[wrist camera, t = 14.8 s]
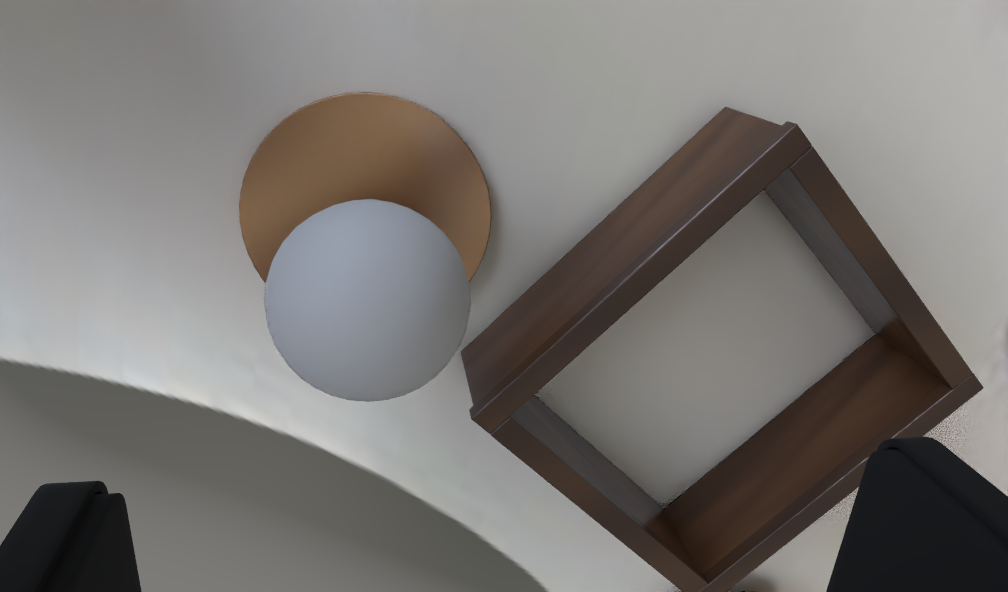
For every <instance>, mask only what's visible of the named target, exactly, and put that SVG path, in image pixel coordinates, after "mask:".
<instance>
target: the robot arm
mask: <svg viewBox="0 0 1008 592" xmlns="http://www.w3.org/2000/svg"><path fill="white" fill-rule="evenodd" d="M0 592H141V587H140V581H139V575H138V570H137V564H136V559H135V554H134V547H133V542H132V536H131V530H130V525H129V520H128V513H127V508H126V503H125V499H124V497H123V495H122V494H120V493H114V494H108V491H107V488H106V486H105V484H104V483H103V482H101V481H88V482H69V483H50V484H44V485H42V486H40V487H39V488H38V490H37V491H36V492H35V493H34V495H33V496H32V498H31V499H30V501H29V503H28V504H27V506H26V507H25V509H24V510H23V512H22V513H21V515H20V516H19V518H18V519H17V521H16V522H15V524H14V525H13V527H12V529H11V530H10V532H9V533H8V535H7V536H6V538H5V540H4V541H3V542H2V544H1V546H0ZM826 592H1008V497H1007V496H1006V495H1005V494H1004V493H1002V492H1001V491H1000V490H999V489H997V488H996V487H995V486H994V485H992V484H991V483H990V482H989V481H987V480H986V479H985V478H984V477H982V476H981V475H980V474H979V473H977V472H976V471H975V470H974V469H973V468H971V467H970V466H969V465H968V464H966V463H965V462H964V461H963V460H961V459H960V458H959V457H958V456H956V455H955V454H954V453H953V452H951V451H950V450H949V449H948V448H946V447H945V446H944V445H943V444H941V443H940V442H938V441H937V440H935V439H933V438H929V437H911V438H892V439H887V440H884V441H883V442H882V443H881V444H880V445H879V446H878V448H877V450H876V451H874V452H873V453H872V454H871V455H870V456H869V458H868V460H867V464H866V467H865V470H864V473H863V476H862V480H861V483H860V486H859V489H858V492H857V495H856V499H855V502H854V505H853V508H852V511H851V515H850V518H849V521H848V524H847V527H846V531H845V534H844V537H843V540H842V543H841V547H840V550H839V553H838V556H837V559H836V562H835V566H834V569H833V572H832V575H831V578H830V582H829V585H828V588H827V591H826Z"/></svg>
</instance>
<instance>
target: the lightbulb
mask: <svg viewBox="0 0 1008 592" xmlns="http://www.w3.org/2000/svg"><path fill="white" fill-rule="evenodd" d="M264 304H265V311H266V318H267V324H268V329H269V331H270V334H271V336H272V339H273V342H274V344H275V346H276V348H277V349H278V351H279V352H280V354H281V355H282V357H283V358H284V360H285V361H286V363H287V364H288V366H289V367H290V368H291V369H292V370H293V371H294V372H295V373H296V374H297V375H298V376H299V377H300V378H301V379H303V380H304V381H306V382H307V383H309V384H310V385H311V386H313V387H314V388H316V389H318V390H320V391H323V392H325V393H327V394H329V395H332V396H335V397H339V398H343V399H347V400H354V401H367V402H369V401H380V400H388V399H391V398H395V397H399V396H403V395H405V394H407V393H410V392H412V391H414V390H416V389H418V388H420V387H422V386H423V385H425V384H426V383H428V382H429V381H430V380H432V379H433V378H435V377H436V375H437V374H438V373H439V372H440V371H441V370H442V369H443V368H444V367H445V366H446V365H447V364H448V362H449V361H450V359H451V358H452V356H453V355H454V353H455V352H456V350H457V349H458V347H459V346H460V343H461V341H462V338H463V336H464V334H465V331H466V327H467V322H468V316H469V311H470V286H469V282H468V278H467V273H466V270H465V267H464V264H463V262H462V260H461V257H460V255H459V253H458V251H457V249H456V247H455V246H454V245H453V243H452V242H451V241H450V239H449V238H448V237H447V236H446V234H445V233H444V232H443V231H442V230H441V229H440V228H438V227H437V226H436V225H435V224H434V223H433V222H431V221H430V220H429V219H427V218H426V217H424V216H422V215H420V214H419V213H417V212H415V211H413V210H412V209H410V208H407V207H404V206H401V205H399V204H396V203H393V202H388V201H380V200H377V199H363V200H352V201H348V202H344V203H340V204H336V205H333V206H331V207H329V208H326V209H324V210H322V211H320V212H318V213H316V214H314V215H312V216H311V217H309V218H308V219H307V220H305V221H304V222H302V223H301V224H300V225H298V226H297V227H296V228H295V229H294V230H293V231H292V232H291V233H290V235H289V236H288V237H287V238H286V239H285V240H284V241H283V243H282V244H281V246H280V248H279V250H278V252H277V253H276V255H275V257H274V259H273V261H272V264H271V267H270V270H269V273H268V277H267V280H266V284H265V297H264Z"/></svg>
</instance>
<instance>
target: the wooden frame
mask: <svg viewBox="0 0 1008 592" xmlns="http://www.w3.org/2000/svg"><path fill="white" fill-rule="evenodd" d="M763 189H765V190H766V192H767V193H768V194H769V196H770V197H771V198H772V200H773V201H774V202H775V203H776V205H777V206H778V207H779V209H780V210H781V211H782V213H783V214H784V215H785V217H786V218H787V219H788V220H789V222H790V223H791V224H792V226H793V227H794V228H795V230H796V231H797V232H798V233H799V235H800V236H801V237H802V239H803V240H804V241H805V243H806V244H807V245H808V246H809V248H810V249H811V250H812V252H813V253H814V254H815V256H816V257H817V258H818V259H819V261H820V262H821V263H822V265H823V266H824V267H825V269H826V270H827V271H828V272H829V274H830V275H831V276H832V278H833V279H834V280H835V282H836V283H837V284H838V285H839V287H840V288H841V289H842V291H843V292H844V293H845V295H846V296H847V297H848V298H849V300H850V301H851V302H852V304H853V305H854V306H855V308H856V309H857V310H858V311H859V313H860V314H861V315H862V317H863V318H864V319H865V321H866V322H867V323H868V324H869V326H870V327H871V328H872V330H873V331H874V332H875V334H876V335H875V336H873V337H872V338H871V339H870V340H868V341H867V342H866V343H865V344H864V345H862V346H861V347H860V348H859V349H858V350H856V351H855V352H854V353H853V354H852V355H850V356H849V357H848V358H847V359H846V360H844V361H843V362H842V363H841V364H839V365H838V366H837V367H836V368H835V369H833V370H832V371H831V372H830V373H829V374H827V375H826V376H825V377H824V378H823V379H821V380H820V381H819V382H818V383H817V384H815V385H814V386H813V387H812V388H811V389H809V390H808V391H807V392H806V393H804V394H803V395H802V396H801V397H800V398H798V399H797V400H796V401H795V402H794V403H792V404H791V405H790V406H789V407H788V408H786V409H785V410H784V411H783V412H782V413H780V414H779V415H778V416H777V417H775V418H774V419H773V420H772V421H771V422H769V423H768V424H767V425H766V426H765V427H763V428H762V429H761V430H760V431H759V432H757V433H756V434H755V435H754V436H753V437H751V438H750V439H749V440H748V441H746V442H745V443H744V444H743V445H742V446H740V447H739V448H738V449H737V450H736V451H734V452H733V453H732V454H731V455H730V456H728V457H727V458H726V459H725V460H724V461H722V462H721V463H720V464H719V465H717V466H716V467H715V468H714V469H713V470H711V471H710V472H709V473H708V474H707V475H705V476H704V477H703V478H702V479H701V480H699V481H698V482H697V483H696V484H695V485H693V486H692V487H691V488H690V489H688V490H687V491H686V492H685V493H684V494H682V495H681V496H680V497H679V498H678V499H676V500H675V501H674V502H673V503H672V504H670V505H669V506H668V507H667V508H666V509H663V508H662V507H661V506H660V505H659V504H658V503H656V502H655V501H654V500H653V499H652V498H651V497H650V496H648V495H647V494H646V493H645V492H644V491H643V490H642V489H640V488H639V487H638V486H637V485H636V484H635V483H634V482H632V481H631V480H630V479H629V478H628V477H627V476H626V475H625V474H623V473H622V472H621V471H620V470H619V469H618V468H617V467H615V466H614V465H613V464H612V463H611V462H610V461H609V460H607V459H606V458H605V457H604V456H603V455H602V454H601V453H599V452H598V451H597V450H596V449H595V448H594V447H593V446H592V445H590V444H589V443H588V442H587V441H586V440H585V439H584V438H582V437H581V436H580V435H579V434H578V433H577V432H576V431H574V430H573V429H572V428H571V427H570V426H569V425H568V424H566V423H565V422H564V421H563V420H562V419H561V418H560V417H559V416H557V415H556V414H555V413H554V412H553V411H552V410H551V409H549V408H548V407H547V406H546V405H545V404H544V403H543V402H541V401H540V400H539V399H538V398H537V397H536V396H535V395H534V394H535V393H536V392H537V391H539V390H540V389H541V388H542V387H543V386H544V385H545V384H546V383H547V382H549V381H550V380H551V379H552V378H553V377H554V376H555V375H556V374H558V373H559V372H560V371H561V370H562V369H563V368H564V367H565V366H566V365H568V364H569V363H570V362H571V361H572V360H573V359H574V358H575V357H577V356H578V355H579V354H580V353H581V352H582V351H583V350H584V349H585V348H587V347H588V346H589V345H590V344H591V343H592V342H593V341H594V340H596V339H597V338H598V337H599V336H600V335H601V334H602V333H603V332H604V331H606V330H607V329H608V328H609V327H610V326H611V325H612V324H613V323H615V322H616V321H617V320H618V319H619V318H620V317H621V316H622V315H623V314H625V313H626V312H627V311H628V310H629V309H630V308H631V307H632V306H634V305H635V304H636V303H637V302H638V301H639V300H640V299H641V298H642V297H644V296H645V295H646V294H647V293H648V292H649V291H650V290H651V289H653V288H654V287H655V286H656V285H657V284H658V283H659V282H660V281H662V280H663V279H664V278H665V277H666V276H667V275H668V274H669V273H670V272H672V271H673V270H674V269H675V268H676V267H677V266H678V265H679V264H681V263H682V262H683V261H684V260H685V259H686V258H687V257H688V256H689V255H691V254H692V253H693V252H694V251H695V250H696V249H697V248H698V247H700V246H701V245H702V244H703V243H704V242H705V241H706V240H707V239H708V238H710V237H711V236H712V235H713V234H714V233H715V232H716V231H717V230H719V229H720V228H721V227H722V226H723V225H724V224H725V223H726V222H727V221H729V220H730V219H731V218H732V217H733V216H734V215H735V214H736V213H738V212H739V211H740V210H741V209H742V208H743V207H744V206H745V205H746V204H748V203H749V202H750V201H751V200H752V199H753V198H754V197H755V196H757V195H758V194H759V193H760V192H761V191H762V190H763ZM461 356H462V360H463V364H464V368H465V372H466V377H467V381H468V385H469V389H470V393H471V397H472V401H473V407H472V408H470V410H469V411H470V416H471V419H472V420H473V421H474V422H476V423H477V424H478V425H479V426H481V427H482V428H483V429H484V430H485V431H487V432H488V433H490V435H491V436H492V437H494V438H495V439H496V440H497V441H499V442H500V443H501V444H502V445H503V446H505V447H506V448H507V449H508V450H510V451H511V452H512V453H513V454H515V455H516V456H517V457H518V458H519V459H521V460H522V461H523V462H524V463H526V464H527V465H528V466H529V467H530V468H532V469H533V470H534V471H535V472H537V473H538V474H539V475H540V476H541V477H543V478H544V479H545V480H546V481H548V482H549V483H550V484H551V485H553V486H554V487H555V488H556V489H557V490H559V491H560V492H561V493H562V494H564V495H565V496H566V497H567V498H568V499H570V500H571V501H572V502H573V503H575V504H576V505H577V506H578V507H579V508H581V509H582V510H583V511H584V512H586V513H587V514H588V515H589V516H591V517H592V518H593V519H594V520H595V521H597V522H598V523H599V524H600V525H602V526H603V527H604V528H605V529H606V530H608V531H609V532H610V533H611V534H613V535H614V536H615V537H616V538H617V539H619V540H620V541H621V542H622V543H624V544H625V545H626V546H627V547H629V548H630V549H631V550H632V551H633V552H635V553H636V554H637V555H638V556H640V557H641V558H642V559H643V560H644V561H646V562H647V563H648V564H649V565H651V566H652V567H653V568H654V569H656V570H657V571H658V572H659V573H660V574H662V575H663V576H664V577H665V578H667V579H668V580H669V581H670V582H671V583H673V584H674V585H675V586H676V587H678V588H679V589H680V590H681V591H682V592H726V591H728V590H729V589H730V588H731V587H733V586H734V585H735V584H736V583H738V582H739V581H740V580H741V579H743V578H744V577H745V576H747V575H748V574H749V573H750V572H752V571H753V570H754V569H755V568H757V567H758V566H759V565H760V564H762V563H763V562H764V561H765V560H767V559H768V558H769V557H771V556H772V555H773V554H774V553H776V552H777V551H778V550H779V549H781V548H782V547H783V546H784V545H786V544H787V543H788V542H790V541H791V540H792V539H793V538H795V537H796V536H797V535H798V534H800V533H801V532H802V531H803V530H805V529H806V528H807V527H809V526H810V525H811V524H812V523H814V522H815V521H816V520H817V519H819V518H820V517H821V516H822V515H824V514H825V513H826V512H828V511H829V510H830V509H831V508H833V507H834V506H835V505H836V504H838V503H839V502H840V501H841V500H843V499H844V498H845V497H846V496H848V495H849V494H850V493H852V492H853V491H854V490H855V489H857V488H858V487H859V486H860V483H861V480H862V476H863V473H864V470H865V467H866V464H867V460H868V458H869V456H870V455H871V454H872V453H873V452H874V451H876V450H877V448H878V446H879V445H880V444H881V443H882V442H883V441H884V440H887V439H892V438H911V437H922V436H924V435H925V434H926V433H927V432H929V431H930V430H931V429H933V428H934V427H935V426H936V425H938V424H939V423H940V422H941V421H943V420H944V419H945V418H946V417H948V416H949V415H950V414H952V413H953V412H954V411H955V410H957V409H958V408H959V407H960V406H962V405H963V404H964V403H965V402H967V401H968V400H969V399H971V398H972V397H973V396H974V395H976V394H977V393H978V392H979V391H981V390H982V389H983V386H982V385H981V383H980V382H979V381H978V379H977V378H976V376H975V375H974V373H972V371H971V370H970V368H969V367H968V365H967V364H966V363H965V361H964V360H963V358H962V357H961V356H960V354H959V353H958V351H957V350H956V348H955V347H954V346H953V344H952V343H951V341H950V340H949V339H948V337H947V336H946V334H945V333H944V332H943V330H942V329H941V327H940V326H939V324H938V323H937V322H936V320H935V319H934V317H933V316H932V315H931V313H930V312H929V310H928V309H927V307H926V306H925V305H924V303H923V302H922V300H921V299H920V298H919V296H918V295H917V293H916V292H915V290H914V289H913V288H912V286H911V285H910V283H909V282H908V281H907V279H906V278H905V276H904V275H903V273H902V272H901V271H900V269H899V268H898V266H897V265H896V264H895V262H894V261H893V259H892V258H891V256H890V255H889V254H888V252H887V251H886V249H885V248H884V247H883V245H882V244H881V242H880V241H879V240H878V238H877V237H876V235H875V234H874V232H873V231H872V230H871V228H870V227H869V225H868V224H867V223H866V221H865V220H864V218H863V217H862V215H861V214H860V213H859V211H858V210H857V208H856V207H855V206H854V204H853V203H852V201H851V200H850V198H849V197H848V196H847V194H846V193H845V191H844V190H843V189H842V187H841V186H840V184H839V183H838V181H837V180H836V179H835V177H834V176H833V174H832V173H831V172H830V170H829V169H828V167H827V166H826V165H825V163H824V162H823V160H822V159H821V157H820V156H819V155H818V153H817V152H816V150H815V149H814V148H813V147H812V145H811V143H810V142H809V140H808V139H807V138H806V136H805V135H804V133H803V132H802V130H801V129H800V128H799V126H798V125H797V124H795V123H791V122H786V123H785V124H783V125H782V126H781V125H778V124H775V123H772V122H769V121H766V120H763V119H760V118H757V117H754V116H751V115H748V114H745V113H742V112H739V111H736V110H733V109H730V108H727V107H725V108H724V109H723V110H722V111H721V112H720V113H718V114H717V115H716V116H715V117H714V118H713V119H712V120H711V121H710V122H709V123H708V124H707V125H705V126H704V127H703V128H702V129H701V130H700V131H699V132H698V133H697V134H696V135H695V136H694V137H693V138H691V139H690V140H689V141H688V142H687V143H686V144H685V145H684V146H683V147H682V148H681V149H680V150H679V151H677V152H676V153H675V154H674V155H673V156H672V157H671V158H670V159H669V160H668V161H667V162H666V163H665V164H663V165H662V166H661V167H660V168H659V169H658V170H657V171H656V172H655V173H654V174H653V175H652V176H650V177H649V178H648V179H647V180H646V181H645V182H644V183H643V184H642V185H641V186H640V187H639V188H638V189H636V190H635V191H634V192H633V193H632V194H631V195H630V196H629V197H628V198H627V199H626V200H625V201H624V202H622V203H621V204H620V205H619V206H618V207H617V208H616V209H615V210H614V211H613V212H612V213H611V214H610V215H608V216H607V217H606V218H605V219H604V220H603V221H602V222H601V223H600V224H599V225H598V226H597V227H595V228H594V229H593V230H592V231H591V232H590V233H589V234H588V235H587V236H586V237H585V238H584V239H583V240H581V241H580V242H579V243H578V244H577V245H576V246H575V247H574V248H573V249H572V250H571V251H570V252H569V253H567V254H566V255H565V256H564V257H563V258H562V259H561V260H560V261H559V262H558V263H557V264H556V265H555V266H553V267H552V268H551V269H550V270H549V271H548V272H547V273H546V274H545V275H544V276H543V277H542V278H540V279H539V280H538V281H537V282H536V283H535V284H534V285H533V286H532V287H531V288H530V289H529V290H528V291H526V292H525V293H524V294H523V295H522V296H521V297H520V298H519V299H518V300H517V301H516V302H515V303H514V304H512V305H511V306H510V307H509V308H508V309H507V310H506V311H505V312H504V313H503V314H502V315H501V316H500V317H498V318H497V319H496V320H495V321H494V322H493V323H492V324H491V325H490V326H489V327H488V328H487V329H485V330H484V331H483V332H482V333H481V334H480V335H479V336H478V337H477V338H476V339H475V340H474V341H473V342H471V343H470V344H469V345H468V346H467V347H466V348H465V349H464V350H463V351H462V352H461Z"/></svg>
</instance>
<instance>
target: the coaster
mask: <svg viewBox="0 0 1008 592" xmlns="http://www.w3.org/2000/svg"><path fill="white" fill-rule="evenodd" d="M363 199H377V200H380V201H388V202H393V203H396V204H399V205H401V206H404V207H407V208H410V209H412V210H413V211H415V212H417V213H419V214H420V215H422V216H424V217H426V218H427V219H429V220H430V221H431V222H433V223H434V224H435V225H436V226H437V227H438V228H440V229H441V230H442V231H443V232H444V233H445V234H446V236H447V237H448V238H449V239H450V241H451V242H452V243H453V245H454V246H455V247H456V249H457V251H458V253H459V255H460V257H461V260H462V262H463V264H464V267H465V270H466V273H467V278H468V282H469V281H470V280H471V279H472V277H473V276H474V274H475V272H476V270H477V269H478V267H479V265H480V263H481V261H482V258H483V255H484V253H485V250H486V247H487V243H488V239H489V234H490V225H491V204H490V198H489V192H488V187H487V184H486V181H485V178H484V175H483V172H482V170H481V168H480V166H479V164H478V162H477V159H476V158H475V156H474V155H473V153H472V152H471V150H470V148H469V147H468V145H467V144H466V143H465V142H464V140H463V139H462V138H461V137H460V136H459V134H458V133H457V132H456V131H455V130H454V129H453V128H451V127H450V126H449V125H448V124H447V123H446V122H445V121H444V120H442V119H441V118H439V117H438V116H436V115H435V114H434V113H432V112H431V111H429V110H427V109H425V108H423V107H421V106H419V105H417V104H415V103H413V102H410V101H407V100H404V99H401V98H399V97H394V96H389V95H385V94H378V93H366V92H362V93H346V94H340V95H335V96H330V97H327V98H324V99H321V100H318V101H315V102H312V103H310V104H308V105H306V106H304V107H302V108H300V109H298V110H297V111H295V112H294V113H292V114H291V115H289V116H288V117H286V118H285V119H284V120H283V121H281V122H280V123H279V124H278V125H277V126H276V127H275V128H274V129H273V130H272V131H271V132H270V133H269V134H268V135H267V137H266V138H265V139H264V140H263V142H262V143H261V144H260V146H259V147H258V149H257V151H256V152H255V154H254V156H253V157H252V159H251V161H250V164H249V166H248V168H247V171H246V173H245V177H244V180H243V184H242V188H241V195H240V205H239V210H240V225H241V231H242V236H243V240H244V243H245V246H246V249H247V252H248V255H249V257H250V259H251V261H252V263H253V265H254V267H255V269H256V270H257V272H258V273H259V275H260V276H261V278H262V279H263V281H264V282H265V283H266V280H267V277H268V273H269V270H270V267H271V264H272V261H273V259H274V257H275V255H276V253H277V252H278V250H279V248H280V246H281V244H282V243H283V241H284V240H285V239H286V238H287V237H288V236H289V235H290V233H291V232H292V231H293V230H294V229H295V228H296V227H297V226H298V225H300V224H301V223H302V222H304V221H305V220H307V219H308V218H309V217H311V216H312V215H314V214H316V213H318V212H320V211H322V210H324V209H326V208H329V207H331V206H333V205H336V204H340V203H344V202H348V201H352V200H363Z"/></svg>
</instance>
